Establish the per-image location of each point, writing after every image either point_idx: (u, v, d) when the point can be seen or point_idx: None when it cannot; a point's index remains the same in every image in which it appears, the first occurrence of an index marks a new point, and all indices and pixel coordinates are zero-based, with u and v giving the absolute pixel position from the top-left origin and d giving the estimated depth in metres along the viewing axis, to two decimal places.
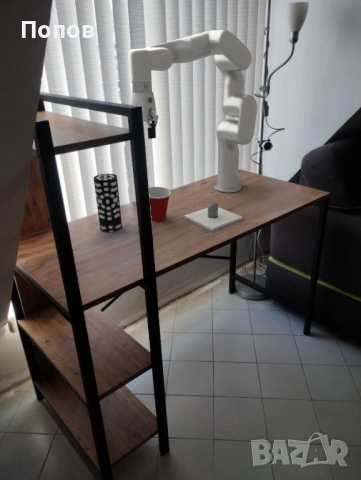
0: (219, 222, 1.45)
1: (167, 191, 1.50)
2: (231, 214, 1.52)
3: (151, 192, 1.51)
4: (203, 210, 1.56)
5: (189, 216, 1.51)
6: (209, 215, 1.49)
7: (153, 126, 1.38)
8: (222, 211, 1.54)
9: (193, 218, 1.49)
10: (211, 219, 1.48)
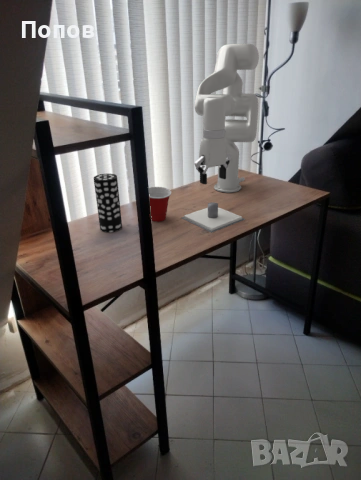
0: (219, 222, 1.45)
1: (167, 191, 1.50)
2: (231, 214, 1.52)
3: (151, 192, 1.51)
4: (203, 210, 1.56)
5: (189, 216, 1.51)
6: (209, 215, 1.49)
7: None
8: (222, 211, 1.54)
9: (193, 218, 1.49)
10: (211, 219, 1.48)
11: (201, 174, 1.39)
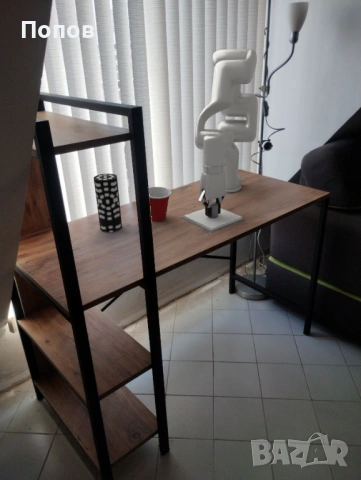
0: (219, 222, 1.45)
1: (167, 191, 1.50)
2: (231, 214, 1.52)
3: (151, 192, 1.51)
4: (203, 210, 1.56)
5: (189, 216, 1.51)
6: None
7: None
8: (222, 211, 1.54)
9: (193, 218, 1.49)
10: (211, 219, 1.48)
11: (206, 208, 1.47)
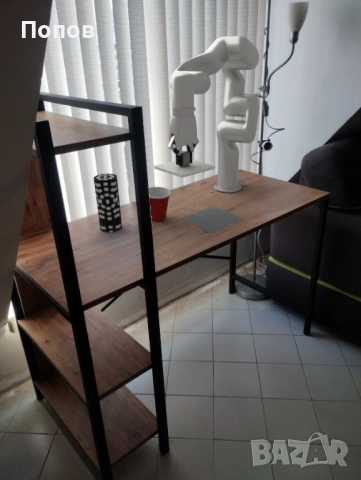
0: (190, 170, 1.37)
1: (167, 191, 1.50)
2: (204, 164, 1.43)
3: (151, 192, 1.51)
4: (175, 161, 1.47)
5: (159, 166, 1.42)
6: None
7: None
8: (195, 162, 1.46)
9: (163, 167, 1.40)
10: (182, 168, 1.39)
11: (177, 155, 1.38)
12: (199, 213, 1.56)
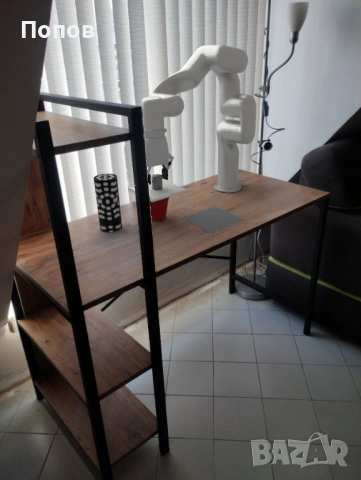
0: (162, 194, 1.41)
1: None
2: (176, 187, 1.48)
3: None
4: None
5: (133, 188, 1.47)
6: (153, 187, 1.45)
7: None
8: (169, 184, 1.50)
9: None
10: (154, 191, 1.44)
11: None
12: (199, 213, 1.56)
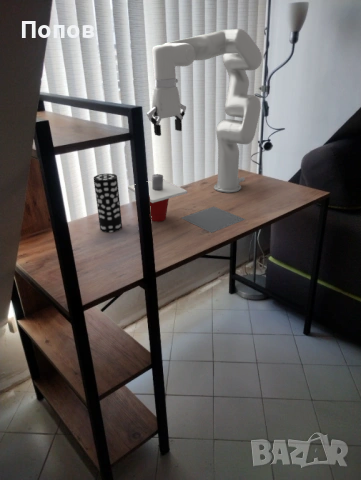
0: (162, 195, 1.41)
1: None
2: (176, 188, 1.48)
3: None
4: (149, 182, 1.52)
5: (133, 187, 1.47)
6: (153, 187, 1.45)
7: None
8: (169, 184, 1.50)
9: None
10: (154, 191, 1.44)
11: (155, 125, 1.40)
12: (199, 213, 1.56)
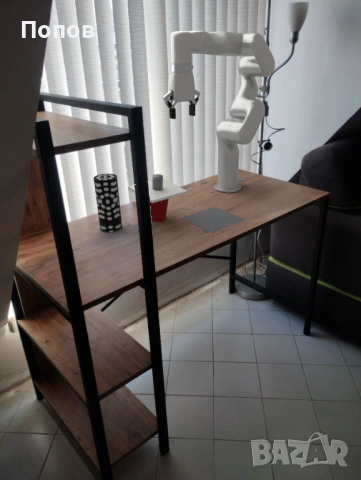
0: (162, 195, 1.41)
1: None
2: (176, 188, 1.48)
3: None
4: (149, 182, 1.52)
5: (133, 187, 1.47)
6: (153, 187, 1.45)
7: None
8: (169, 185, 1.50)
9: None
10: (154, 191, 1.44)
11: (170, 109, 1.45)
12: (199, 213, 1.56)
